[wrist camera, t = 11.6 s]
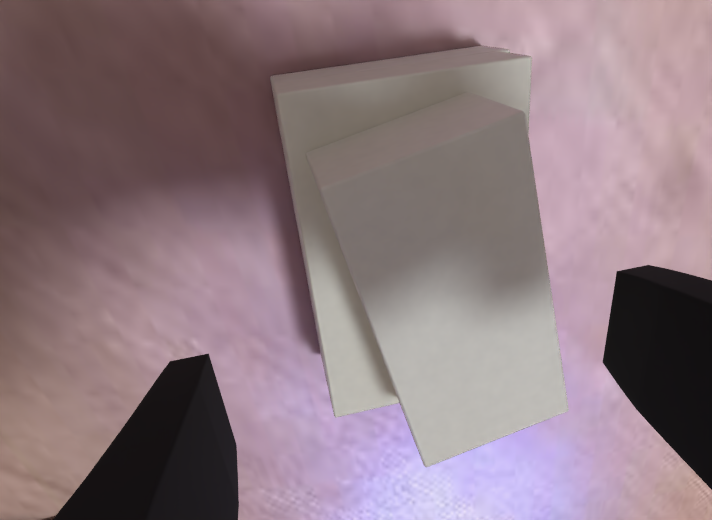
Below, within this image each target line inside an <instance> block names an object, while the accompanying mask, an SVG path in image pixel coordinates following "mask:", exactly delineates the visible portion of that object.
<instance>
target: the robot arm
mask: <svg viewBox="0 0 712 520" xmlns="http://www.w3.org/2000/svg"><path fill="white" fill-rule="evenodd" d="M603 363H604V365H605V366H606V368H607V369H608V371H609V372H610V373H611V375H612V376H613V378H614V379H615V381H616V382H617V384H618V385H619V386H620V388H621V389H622V391H623V392H624V393H625V395H626V396H627V397H628V399H629V400H630V401H631V403H632V404H633V405H634V406H635V408H636V409H637V410H638V411H639V412H640V414H641V415H642V416H643V417H644V418H645V419H646V420H647V421H648V422H649V424H650V425H651V426H652V427H653V428H654V429H655V430H656V431H657V432H658V433H659V434H660V435H661V436H662V437H663V439H664V440H665V441H666V442H667V443H668V444H669V445H670V446H671V447H672V448H673V449H674V450H675V451H676V452H677V453H678V455H679V456H680V457H681V458H682V459H683V460H684V461H685V462H686V463H687V464H688V465H689V466H690V467H691V468H692V469H693V470H694V471H695V472H696V474H697V475H698V476H699V477H700V478H701V479H702V480H703V481H704V482H705V483H706V484H707V485H708V486H709V487H710V488H711V489H712V281H711V280H708V279H704V278H700V277H697V276H693V275H689V274H686V273H682V272H678V271H674V270H669V269H665V268H660V267H655V266H650V265H646V266H642V267H637V268H632V269H627V270H622V271H617V275H616V281H615V287H614V294H613V300H612V306H611V313H610V319H609V326H608V332H607V338H606V345H605V351H604V358H603ZM238 507H239V501H238V472H237V450H236V442H235V439H234V436H233V432H232V429H231V426H230V423H229V419H228V416H227V413H226V410H225V406H224V403H223V400H222V396H221V393H220V390H219V387H218V383H217V380H216V377H215V373H214V370H213V367H212V364H211V360H210V357H209V354H205V355H200V356H195V357H190V358H185V359H180V360H175V361H170V362H169V364H168V365H167V366H166V368H165V369H164V370H163V372H162V373H161V374H160V376H159V377H158V378H157V380H156V381H155V383H154V384H153V386H152V387H151V388H150V390H149V391H148V393H147V394H146V396H145V397H144V398H143V400H142V401H141V403H140V404H139V406H138V407H137V409H136V410H135V411H134V413H133V414H132V416H131V417H130V418H129V420H128V421H127V423H126V424H125V426H124V427H123V428H122V430H121V431H120V433H119V434H118V435H117V437H116V438H115V439H114V441H113V442H112V443H111V445H110V446H109V447H108V449H107V450H106V452H105V453H104V454H103V456H102V457H101V458H100V460H99V461H98V462H97V464H96V465H95V466H94V468H93V469H92V471H91V472H90V473H89V475H88V476H87V477H86V479H85V480H84V481H83V482H82V484H81V485H80V486H79V488H78V489H77V490H76V491H75V493H74V494H73V495H72V496H71V498H70V499H69V500H68V501H67V503H66V504H65V505H64V506H63V508H62V509H61V510H60V511H59V513H58V514H57V515H56V516H55V518H54V519H53V520H238Z"/></svg>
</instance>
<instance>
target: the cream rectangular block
mask: <svg viewBox="0 0 712 520" xmlns="http://www.w3.org/2000/svg"><path fill="white" fill-rule="evenodd" d="M306 158H307V161H308V163H309V166H310V169H311V171H312V174H313V177H314V179H315V182H316V184H317V187H318V190H319V192H320V195H321V198H322V200H323V203H324V205H325V208H326V211H327V213H328V216H329V219H330V221H331V224H332V226H333V229H334V232H335V234H336V237H337V240H338V242H339V245H340V248H341V250H342V253H343V255H344V258H345V261H346V263H347V266H348V269H349V271H350V274H351V276H352V279H353V282H354V284H355V287H356V290H357V292H358V295H359V297H360V300H361V303H362V305H363V308H364V311H365V313H366V316H367V318H368V321H369V324H370V326H371V329H372V332H373V334H374V337H375V339H376V342H377V345H378V347H379V350H380V353H381V355H382V358H383V361H384V363H385V366H386V368H387V371H388V374H389V376H390V379H391V382H392V384H393V387H394V389H395V392H396V395H397V397H398V400H399V402H400V405H401V408H402V410H403V413H404V415H405V418H406V420H407V423H408V425H409V428H410V431H411V433H412V436H413V438H414V441H415V443H416V446H417V449H418V451H419V454H420V456H421V459H422V461H423V464H424V466H425V467H429V466H431V465H434V464H436V463H439V462H441V461H444V460H446V459H449V458H451V457H454V456H456V455H459V454H462V453H464V452H467V451H469V450H472V449H474V448H477V447H479V446H482V445H484V444H487V443H489V442H492V441H494V440H497V439H499V438H502V437H504V436H507V435H509V434H512V433H514V432H517V431H519V430H522V429H524V428H527V427H530V426H532V425H535V424H537V423H540V422H542V421H545V420H547V419H550V418H552V417H555V416H557V415H560V414H562V413H565V412H567V411H568V410H569V409H568V402H567V396H566V389H565V382H564V375H563V368H562V362H561V355H560V348H559V341H558V334H557V328H556V321H555V314H554V307H553V300H552V294H551V287H550V280H549V273H548V266H547V260H546V253H545V246H544V239H543V232H542V226H541V219H540V212H539V205H538V198H537V192H536V185H535V178H534V171H533V164H532V157H531V151H530V144H529V137H528V130H527V123H526V117H525V113H524V111H521V110H519V109H516V108H513V107H510V106H507V105H504V104H501V103H499V102H496V101H493V100H490V99H487V98H484V97H481V96H479V95H476V94H473V93H470V92H466V93H463V94H460V95H458V96H455V97H452V98H450V99H447V100H444V101H442V102H439V103H436V104H434V105H431V106H428V107H426V108H423V109H420V110H418V111H415V112H413V113H410V114H407V115H405V116H402V117H399V118H397V119H394V120H391V121H389V122H386V123H383V124H381V125H378V126H375V127H373V128H370V129H367V130H365V131H362V132H359V133H357V134H354V135H351V136H349V137H346V138H344V139H341V140H338V141H336V142H333V143H330V144H328V145H325V146H322V147H320V148H317V149H314V150H312V151H309V152H307V153H306Z"/></svg>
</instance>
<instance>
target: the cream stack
mask: <svg viewBox="0 0 712 520" xmlns="http://www.w3.org/2000/svg"><path fill="white" fill-rule="evenodd" d="M531 66H532V57H531V56H527V55H520V54H513V53H510V50H509V49H503V48H496V47H488V46H475V47H468V48H461V49H454V50H447V51H440V52H433V53H426V54H419V55H413V56H406V57H399V58H392V59H385V60H378V61H371V62H364V63H357V64H350V65H343V66H336V67H329V68H322V69H315V70H308V71H302V72H295V73H288V74H281V75H274V76H271V77H270V81H271V86H272V91H273V97H274V102H275V108H276V113H277V119H278V124H279V129H280V135H281V140H282V146H283V151H284V157H285V162H286V167H287V173H288V178H289V184H290V189H291V195H292V200H293V206H294V211H295V216H296V222H297V227H298V233H299V238H300V244H301V249H302V254H303V260H304V265H305V271H306V276H307V282H308V287H309V292H310V298H311V303H312V309H313V314H314V320H315V325H316V331H317V336H318V341H319V347H320V352H321V357H322V362H323V367H324V371H325V376H326V381H327V385H328V389H329V394H330V398H331V403H332V408H333V412H334V416H335V417H341V416H345V415H349V414H354V413H358V412H362V411H367V410H371V409H375V408H380V407H384V406H388V405H393V404H397V403H400V402H399V400H398V397H397V395H396V392H395V389H394V387H393V384H392V382H391V379H390V376H389V374H388V371H387V368H386V366H385V363H384V361H383V358H382V355H381V353H380V350H379V347H378V345H377V342H376V339H375V337H374V334H373V332H372V329H371V326H370V324H369V321H368V318H367V316H366V313H365V311H364V308H363V305H362V303H361V300H360V297H359V295H358V292H357V290H356V287H355V284H354V282H353V279H352V276H351V274H350V271H349V269H348V266H347V263H346V261H345V258H344V255H343V253H342V250H341V248H340V245H339V242H338V240H337V237H336V234H335V232H334V229H333V226H332V224H331V221H330V219H329V216H328V213H327V211H326V208H325V205H324V203H323V200H322V198H321V195H320V192H319V190H318V187H317V184H316V182H315V179H314V177H313V174H312V171H311V169H310V166H309V163H308V161H307V158H306V153H307V152H309V151H312V150H314V149H317V148H320V147H322V146H325V145H328V144H330V143H333V142H336V141H338V140H341V139H344V138H346V137H349V136H351V135H354V134H357V133H359V132H362V131H365V130H367V129H370V128H373V127H375V126H378V125H381V124H383V123H386V122H389V121H391V120H394V119H397V118H399V117H402V116H405V115H407V114H410V113H413V112H415V111H418V110H420V109H423V108H426V107H428V106H431V105H434V104H436V103H439V102H442V101H444V100H447V99H450V98H452V97H455V96H458V95H460V94H463V93H466V92H470V93H473V94H476V95H479V96H481V97H484V98H487V99H490V100H493V101H496V102H499V103H501V104H504V105H507V106H510V107H513V108H516V109H519V110H521V111H524V113H525V117H526V123H527V130H529V109H530V88H531Z"/></svg>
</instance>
